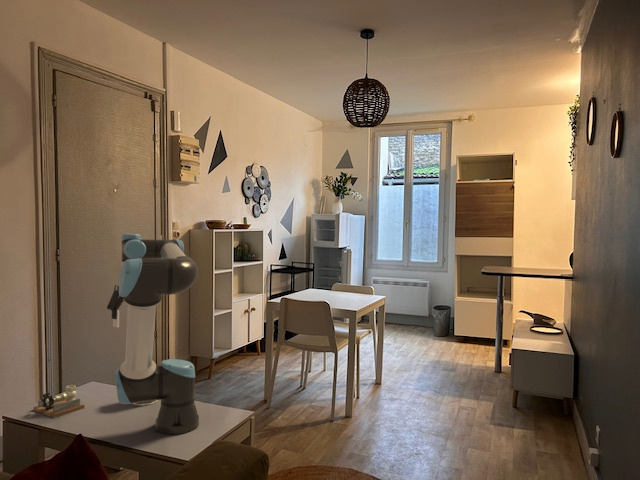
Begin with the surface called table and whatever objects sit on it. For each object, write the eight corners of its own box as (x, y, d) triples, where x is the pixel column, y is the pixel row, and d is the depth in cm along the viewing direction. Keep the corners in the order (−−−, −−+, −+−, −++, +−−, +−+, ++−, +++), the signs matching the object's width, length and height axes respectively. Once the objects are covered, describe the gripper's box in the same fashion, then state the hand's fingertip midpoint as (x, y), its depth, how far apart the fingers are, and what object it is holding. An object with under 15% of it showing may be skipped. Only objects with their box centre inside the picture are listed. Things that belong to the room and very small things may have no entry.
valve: (70, 399, 195) (41, 408, 185) (70, 383, 195) (41, 391, 185) (80, 402, 192) (51, 412, 182) (81, 386, 192) (51, 394, 182)
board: (84, 408, 190) (84, 398, 190) (54, 417, 180) (54, 407, 180) (63, 400, 197) (63, 391, 197) (33, 410, 187) (33, 400, 187)
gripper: (150, 269, 209) (149, 318, 209) (97, 273, 188) (97, 328, 188) (162, 270, 205) (161, 320, 205) (109, 274, 184) (109, 330, 184)
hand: (130, 324), depth 197 cm, fingers open, 13 cm apart
